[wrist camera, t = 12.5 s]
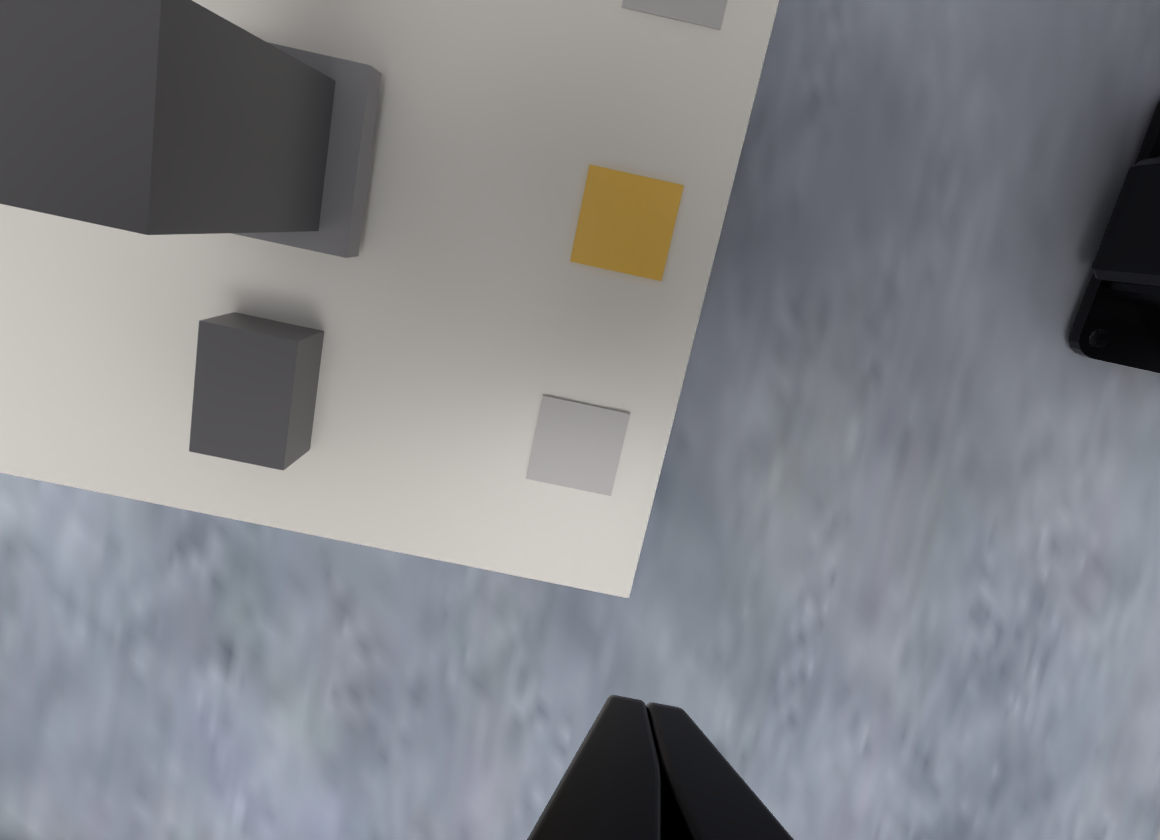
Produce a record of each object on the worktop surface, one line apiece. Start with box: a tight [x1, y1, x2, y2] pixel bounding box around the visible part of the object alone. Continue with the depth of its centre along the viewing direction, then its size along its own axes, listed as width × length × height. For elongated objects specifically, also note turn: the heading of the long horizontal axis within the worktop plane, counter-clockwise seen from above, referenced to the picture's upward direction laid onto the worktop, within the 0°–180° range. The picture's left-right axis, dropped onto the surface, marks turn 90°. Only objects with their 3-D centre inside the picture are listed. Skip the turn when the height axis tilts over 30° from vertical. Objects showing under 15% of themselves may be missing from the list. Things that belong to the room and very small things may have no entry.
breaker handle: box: [0, 0, 382, 258], centre depth 12 cm, size 3×4×7 cm
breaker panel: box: [0, 0, 779, 598], centre depth 16 cm, size 17×17×4 cm
